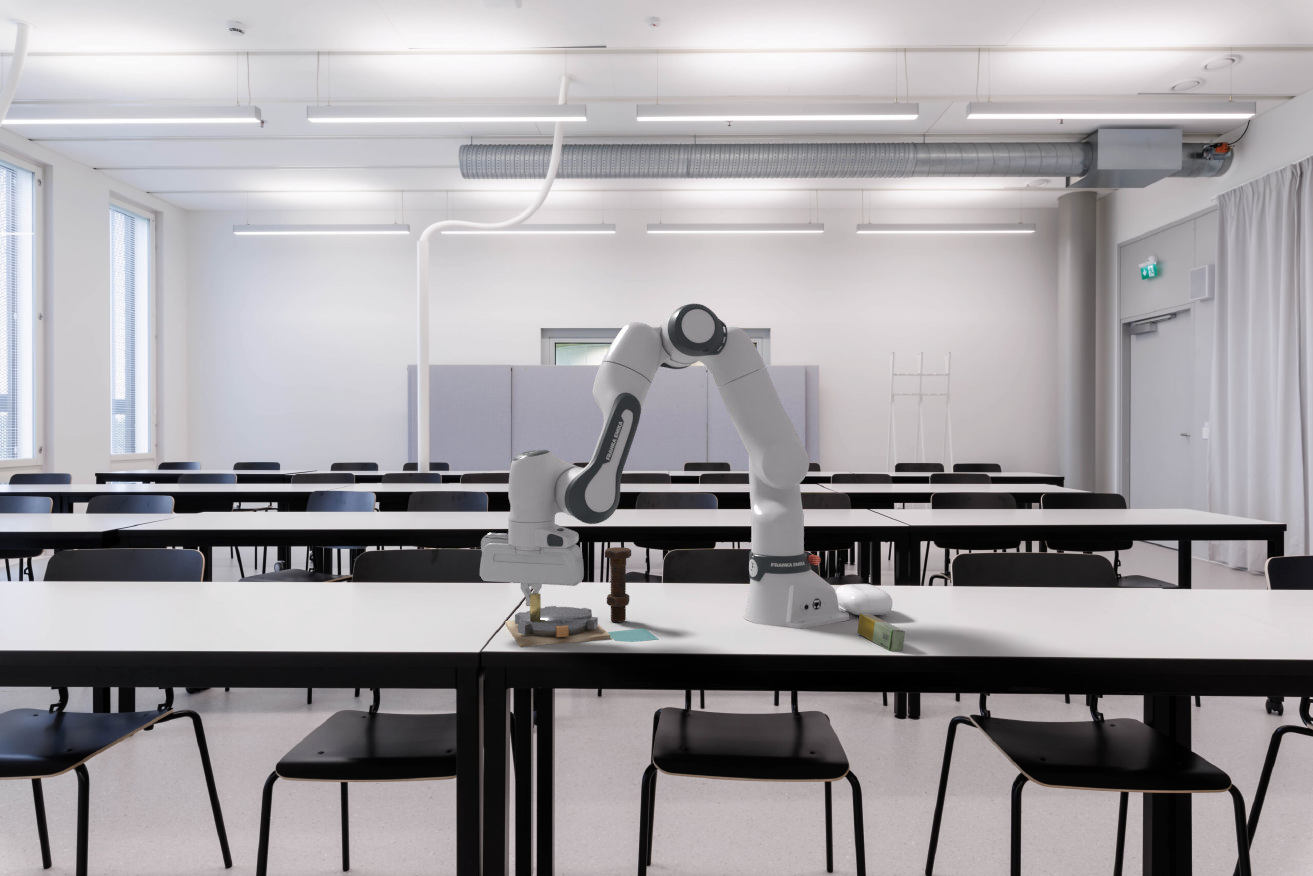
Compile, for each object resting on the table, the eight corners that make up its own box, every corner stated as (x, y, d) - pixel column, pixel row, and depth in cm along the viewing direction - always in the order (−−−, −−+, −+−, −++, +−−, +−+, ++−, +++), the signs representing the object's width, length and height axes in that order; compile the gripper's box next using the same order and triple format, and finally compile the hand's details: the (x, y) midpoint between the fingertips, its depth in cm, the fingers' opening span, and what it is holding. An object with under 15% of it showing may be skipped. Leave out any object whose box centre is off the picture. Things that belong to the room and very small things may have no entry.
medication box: (903, 653, 132) (906, 631, 132) (890, 653, 131) (892, 630, 131) (868, 633, 143) (870, 613, 143) (856, 633, 143) (858, 612, 143)
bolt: (627, 625, 149) (627, 551, 149) (603, 624, 150) (603, 551, 150) (632, 618, 155) (632, 547, 155) (609, 617, 156) (609, 546, 155)
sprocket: (564, 611, 155) (564, 578, 155) (613, 625, 144) (613, 589, 144) (498, 626, 143) (498, 590, 143) (546, 642, 133) (546, 603, 132)
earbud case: (872, 603, 168) (872, 580, 168) (898, 618, 155) (898, 593, 155) (829, 605, 167) (829, 581, 167) (852, 620, 154) (852, 594, 154)
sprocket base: (586, 618, 155) (586, 613, 155) (610, 640, 139) (610, 635, 139) (505, 626, 149) (505, 621, 149) (520, 649, 133) (520, 644, 133)
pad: (644, 629, 146) (644, 628, 146) (658, 640, 139) (658, 639, 138) (606, 633, 143) (606, 632, 143) (618, 645, 136) (618, 643, 136)
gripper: (474, 534, 141) (474, 606, 141) (576, 539, 136) (576, 613, 137) (488, 529, 147) (487, 598, 147) (586, 534, 143) (586, 604, 143)
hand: (531, 605), depth 142 cm, fingers closed, pressing on sprocket
